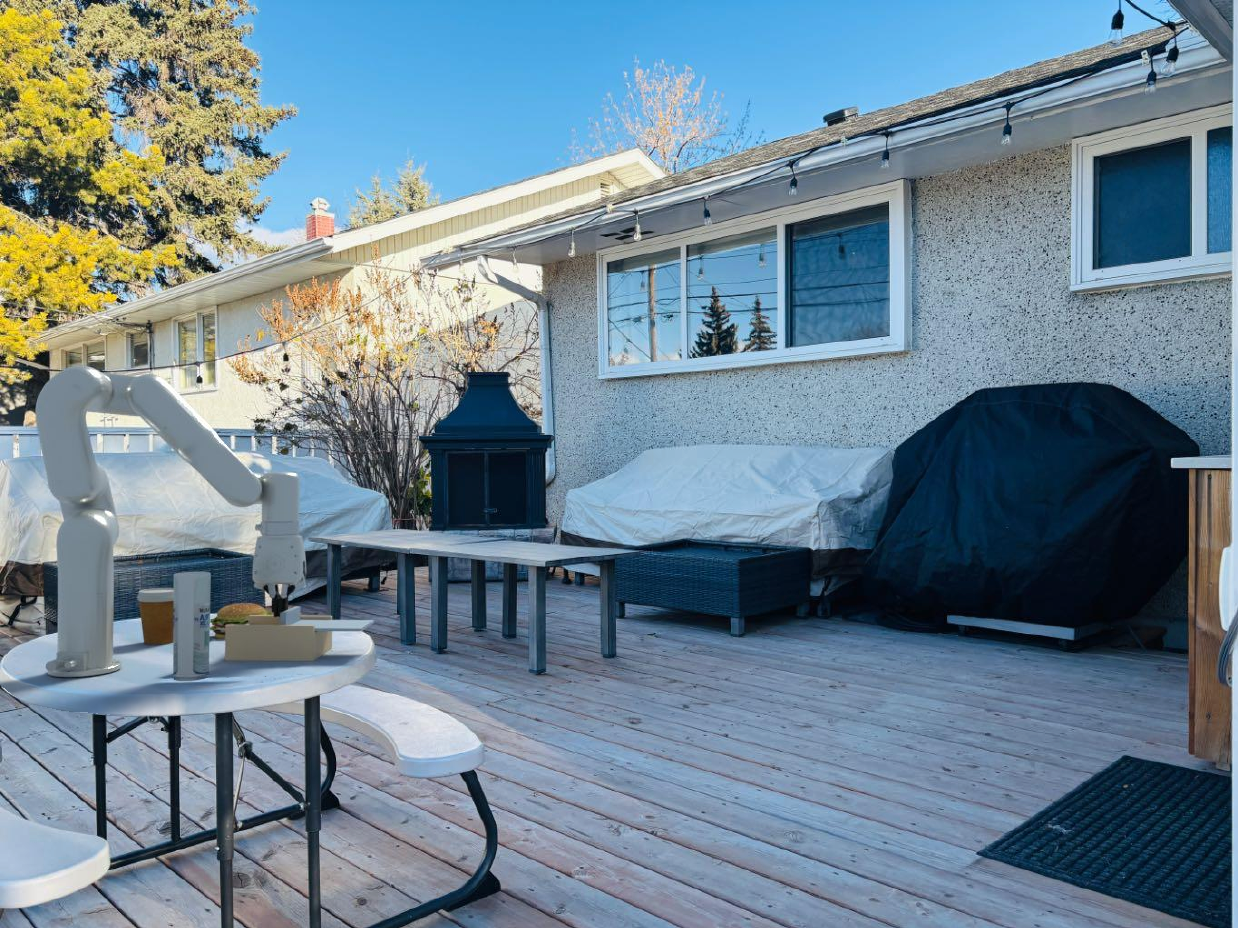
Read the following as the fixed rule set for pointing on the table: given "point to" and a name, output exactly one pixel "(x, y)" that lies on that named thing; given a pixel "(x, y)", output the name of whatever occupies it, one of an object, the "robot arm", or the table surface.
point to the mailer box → (276, 640)
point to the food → (235, 616)
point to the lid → (323, 622)
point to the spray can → (191, 625)
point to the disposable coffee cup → (157, 615)
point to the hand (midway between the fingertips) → (279, 615)
